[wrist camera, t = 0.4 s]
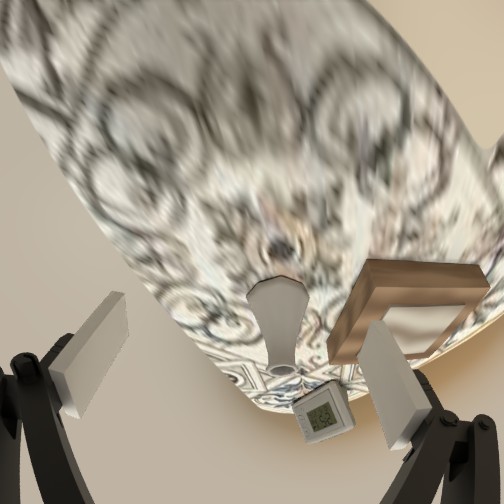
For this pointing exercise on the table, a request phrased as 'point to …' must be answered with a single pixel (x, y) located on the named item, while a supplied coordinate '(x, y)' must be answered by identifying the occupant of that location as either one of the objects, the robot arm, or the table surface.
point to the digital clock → (324, 413)
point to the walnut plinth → (406, 306)
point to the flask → (279, 320)
